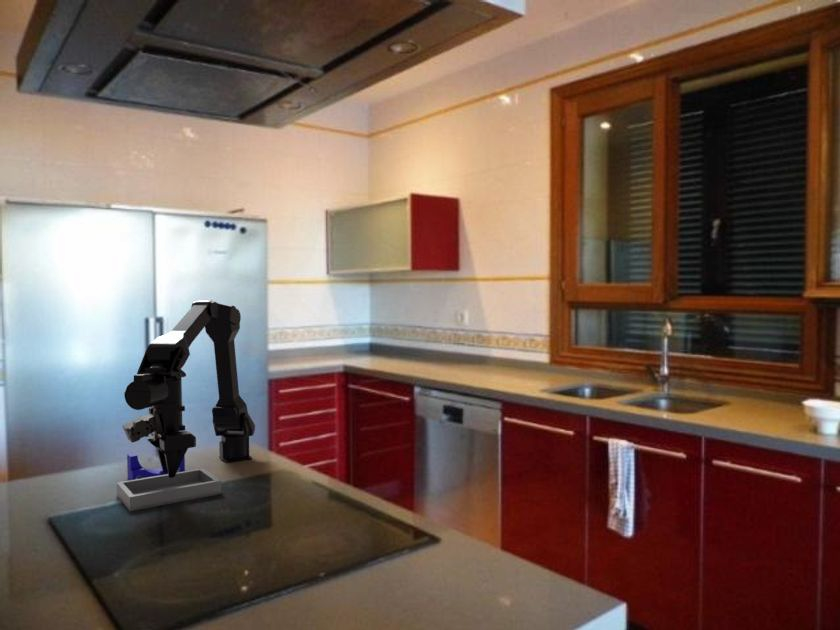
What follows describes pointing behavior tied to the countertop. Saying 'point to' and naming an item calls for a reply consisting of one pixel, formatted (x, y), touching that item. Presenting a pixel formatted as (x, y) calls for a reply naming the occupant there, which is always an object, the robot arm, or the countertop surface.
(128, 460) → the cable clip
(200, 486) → the parts tray
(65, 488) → the countertop surface
